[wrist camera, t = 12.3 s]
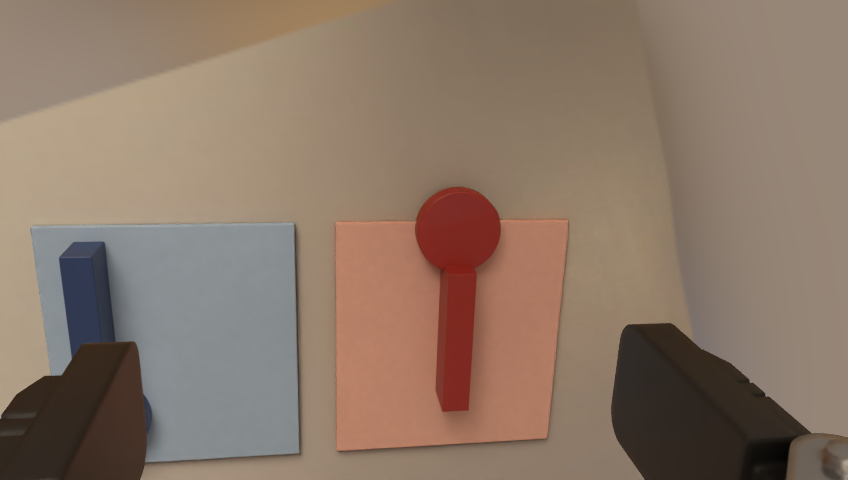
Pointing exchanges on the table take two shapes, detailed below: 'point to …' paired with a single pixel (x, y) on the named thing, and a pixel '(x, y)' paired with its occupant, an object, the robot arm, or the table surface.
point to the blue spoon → (89, 298)
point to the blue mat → (195, 329)
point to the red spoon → (456, 280)
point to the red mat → (418, 335)
